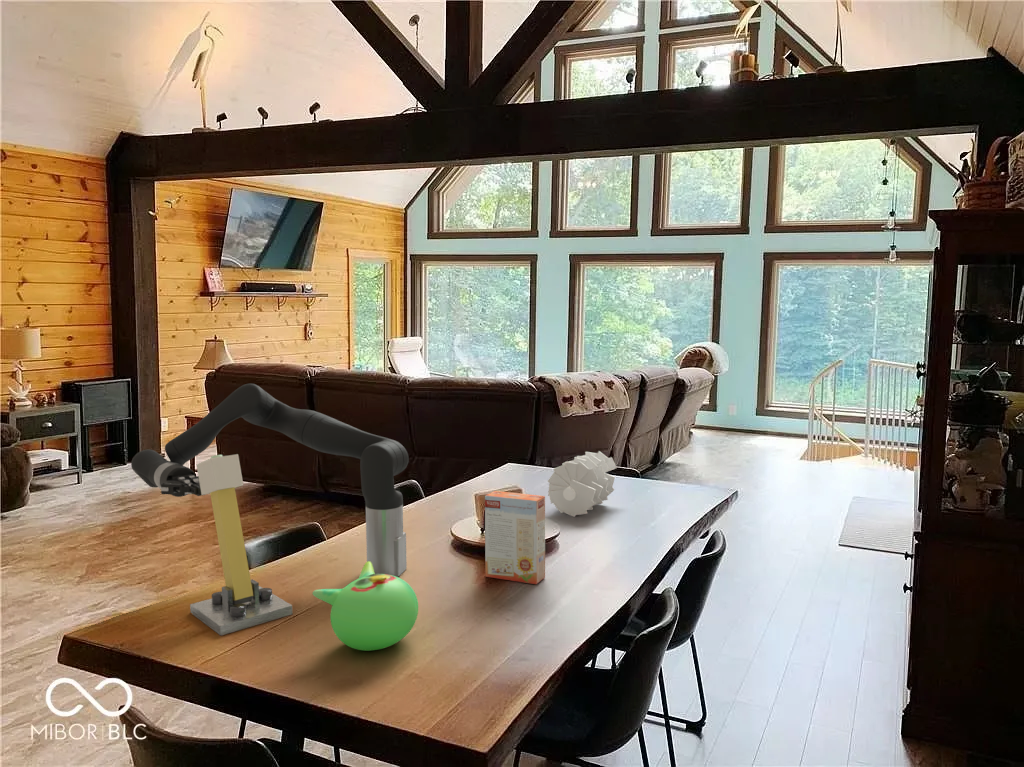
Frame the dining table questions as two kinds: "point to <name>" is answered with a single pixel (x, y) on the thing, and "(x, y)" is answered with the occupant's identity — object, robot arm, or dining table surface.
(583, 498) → the spiral staircase
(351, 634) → the green horned blob
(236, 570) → the post
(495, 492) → the cracker box
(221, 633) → the tripod base plate
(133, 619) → the dining table surface
